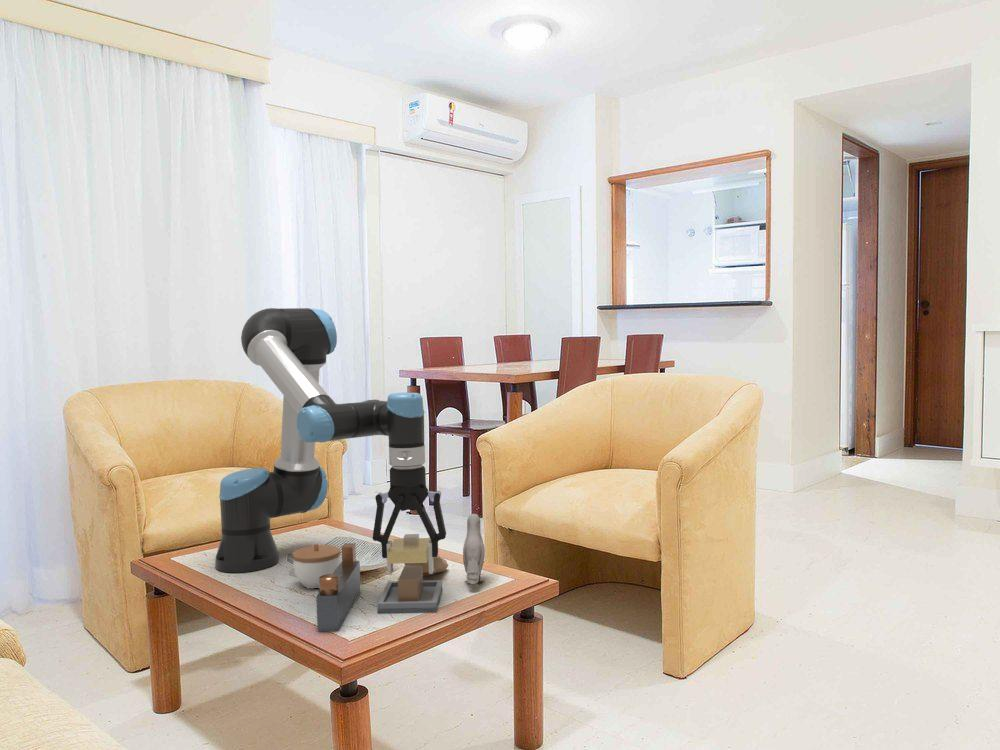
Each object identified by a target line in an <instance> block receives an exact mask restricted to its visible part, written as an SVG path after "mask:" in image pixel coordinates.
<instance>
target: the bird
mask: <svg viewBox="0 0 1000 750" xmlns="http://www.w3.org/2000/svg"><path fill="white" fill-rule="evenodd" d="M466 523H467V524H466V529H467V530H466V537H465V540H464V543H463V547H462V557H463V558H462V560H463V561H462V562H463V566H464V571H465V574H466V580H465V581H464V583H465V582H466V584H467V585H468V586H469V585H476V584H478V585H479V586H480V585H481V584H482V583H483V582H484V580H481V575H482V571H483V566H484V563H485V557H486V556H485V554H486V553H485V552H486V549H485V544H484V539H483V537H482V534H481V532H482V531H481V517H479V515H478V514H477V513H471V514H469V516H468V517H467V521H466Z"/></svg>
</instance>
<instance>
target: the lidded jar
mask: <svg viewBox="0 0 1000 750" xmlns="http://www.w3.org/2000/svg"><path fill="white" fill-rule="evenodd" d="M341 554H342V551H341V548H340V547H338V546H336V545H331V544H319V543H314V544H313V545H308V546H303V547H301V548H298V549H296V550H294V551H293V552H292V554H291V557H292V565H293V567H292V568H293V571H294V575H295V577H296V579H297V580H298V582H299V583H300V584H302V586H303V587H304V586H305V587H307V588H306V589H309V588H319V589H320V587H319V577H320V576H322V575H326V574H333V572H334V571H335V570H336V568H337V567H338V566H339V564H340V563H341ZM305 587H304V588H305Z"/></svg>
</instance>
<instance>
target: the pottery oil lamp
mask: <svg viewBox="0 0 1000 750" xmlns="http://www.w3.org/2000/svg"><path fill="white" fill-rule="evenodd" d="M433 562H434V571H433V574H429V559H428V560H427V563H403V564H404V566H423V576H426V577H427V576H433V575H435V574H437V573H439V574H440V573H443V572H444V571H446V570H447V569H448V567H449V564H448V562H447V560H446V559H445V558H443V557H441V556H440V554H438V555H437V557H433Z"/></svg>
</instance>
